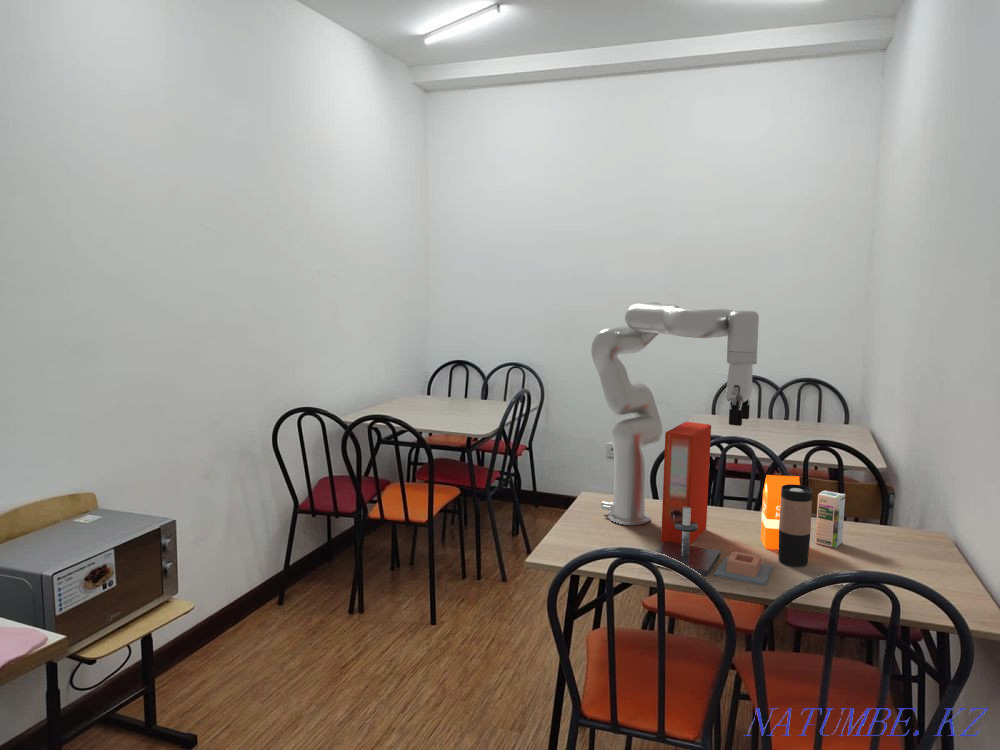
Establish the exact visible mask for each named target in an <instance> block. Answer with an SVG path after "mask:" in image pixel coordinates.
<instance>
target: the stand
mask: <svg viewBox="0 0 1000 750" xmlns="http://www.w3.org/2000/svg"><path fill="white" fill-rule="evenodd" d="M690 517H691V508H690V507H683V520H681V521H676V522H675V526H674V527H675V529H677V530H679V531H682V544H679V543H674V542H668V541H665V542H664V543H663V542H662V544H661V545H660V547H659V548H657V550H656V551H655V552H658V553H661V554H665V555H667V556H669V557H671V558H674V559H676V560H678V561H680V562H682V563H684V564H685V565H687V566H689V567H690V568H692V569H694V570H695V571H697V572H698V573H700V574H701V575H702V576H703V577H708V576H709V574H710V572H711V571H712V569H713V568H714V566H715V565H716V564H717V562H718V561H719V559H720V557H721V554H722V553H721V552H722V551H721V550H719V549H718V550H716V549H711V548H706V547H700V546H697V545H695V546H694V545H690V532H694V531H697V530H698V524H697V523H695V522H692V521H690ZM656 567H657V568H661V567H660V566H656ZM701 575H700V576H701Z"/></svg>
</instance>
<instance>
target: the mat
mask: <svg viewBox="0 0 1000 750" xmlns="http://www.w3.org/2000/svg"><path fill="white" fill-rule="evenodd" d="M728 558H729V557H724V558H723V559H722V561H721V563H720V564H719V565H718V567H717V569H716V570H715V572H714V573H713V574H714V575H715V577H719V576H720V578H724V577H725V579H729V578H730V580H734V579H735V580H734V581H739V580H740V582H744V581H745V582H744V583H749V582H750V583H749V584H753V585H759V586H763V587H764V586H766V584H767V581H768V579H769V577H770V575H771V572H772V570H773V566H774V565H769V564H764V563H761V568H760V570H759V572H758V574H757V576H756V577H751V576H746V575H741V574H736V573H731V572H727V560H728Z"/></svg>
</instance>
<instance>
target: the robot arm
mask: <svg viewBox="0 0 1000 750" xmlns="http://www.w3.org/2000/svg"><path fill="white" fill-rule="evenodd" d="M624 314H625V316H624V320H625V323H626V325H627V326H626V325H625V326H614V327H608V328H604V329H602V330H600V331H599V332H598V333H596V335H595V336H594V338H593V341H592V343H591V350H590V351H591V357H592V361H593V363H594V366H595V368H596V371H597V373H598V376H599V379H600V383H601V387H602V391H603V394H604V398H605V401H606V404H607V408H608V410H609V411H610V413H611V414H612V415H614V416H618V417H619V416H622V417H623V416H628V415H632V418H631V417H630V418H626V419H623V420H621V421H619V422H617V423H616V424H615V425H614V426H613V428H612V430H611V443H612V448H613V449H612V450H613V463H614V464H613V470H614V471H613V474H614V475H613V501H612V502H607V501H602V502H601V506H600V507H601V508H602V510H605V511H609V512H608V514H607V515H608V516H607V517H608V519H610V520H609V521H611V522H612V521H613V523H615V522H616V523H615V524H618V523H619V524H618V525H622V524H623V525H624V526H640V525H641V526H642V525H645V524H647V523H648V522H650V518H651V517H650V514H648V513H646V512H645V511H646V510H645V509H646V506H645V505H646V473H647V471H646V466H647V464H646V460H645V455H644V454H643V450H642V449H643V448H647V447H650V446H654V445H656V444H658V443H659V442H660V441H661V439H662V437H663V434H664V432H663V430H664V428H663V424H662V420H661V417H660V414H659V411H658V407H657V403H656V400H655V397H654V394H653V391H652V390H651V389H650V388H649V387H648V386H647V385H646V384H644V383H641V382H631V381H630V378H629V375H628V371H627V368H626V366H625V365H624V363H623V362H622V361H621V360H620V359H619V357H618V356H619V355H627V354H636V353H638V352H641V351H643V350H644V349H645V348H646V347H647V346H648V345H649V344H651V343H652V341H654V339H655V338H656V337H657V336H659V335H660V334H662V335H671V336H676V337H683V338H693V339H694V338H695V339H710V338H722V337H727V343H726V345H727V346H726V347H727V348H726V364H729V365H728V370H727V371H728V373H727V381H726V391H725V392H726V394H725V400H726V401H727V402H730V403H729V409H728V410H729V412H728V424H729V426H739V427H740V426H742V425H743V420H749V418H750V409H751V407H750V398H751V397H752V391H753V390H752V389H753V365H757V363H758V345H759V344H758V342H759V341H758V340H759V321H760V320H759V319H760V317H759V313H758V312H757V311H754V310H732V309H727V308H712V309H709V308H708V309H690V308H688V309H687V308H681V307H679V305H677V304H668V303H667V304H666V303H664V304H663V303H660V302H638V303H634V304H632V305H631V306H629V307H627V310H626V311H625V313H624Z"/></svg>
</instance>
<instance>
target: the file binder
mask: <svg viewBox="0 0 1000 750" xmlns="http://www.w3.org/2000/svg"><path fill="white" fill-rule="evenodd" d="M711 435H712V424H708V423H699V422H693V421H692V422H691V421H684V422H682V423H681V424H679V425H677V426H675V427H673V428H671V429H669V430H667V431H666V432H665V435H664V455H663V456H664V460H663V487H662V507H661V508H662V511H661V513H662V515H661V535H660V536H661V537H660V541H661V543H662V544H663V543H664V542H665V541H668V542H674V543H679V544H682V531H679V530H677V529H675V527H674V526H675V522H676V521H681V520H683V507H690V508H691V517H690V521H692V522H695V523H697V524H698V530H697V531H694V532H690V546H692V544H693V543H694V542H695V541H696V540H697V539H698V538H699V537H700V536H701V535H702V534H703V533H704V532H705V531H706V530H707V521H708V520H707V519H708V502H709V501H708V499H709V478H710V460H711V459H710V457H711V455H710V454H711V438H712V437H711Z"/></svg>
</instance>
